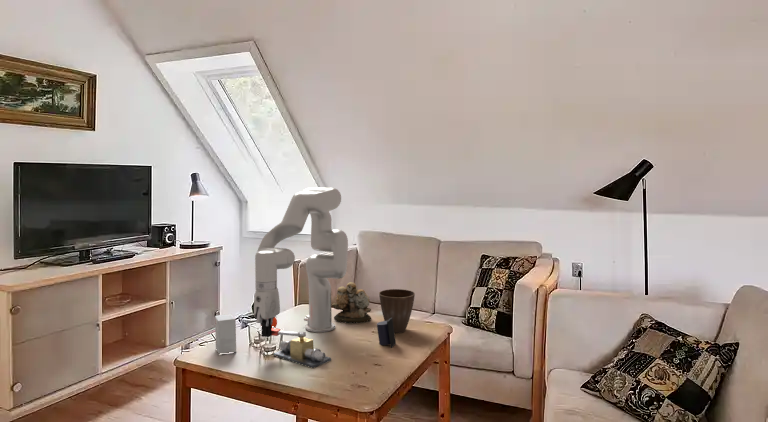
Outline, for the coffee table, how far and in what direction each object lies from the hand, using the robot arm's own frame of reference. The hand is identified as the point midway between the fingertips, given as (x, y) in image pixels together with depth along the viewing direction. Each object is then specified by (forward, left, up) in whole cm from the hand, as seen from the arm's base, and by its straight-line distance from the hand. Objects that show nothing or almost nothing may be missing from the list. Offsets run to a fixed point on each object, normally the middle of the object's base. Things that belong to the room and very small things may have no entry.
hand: (266, 336), depth 189 cm
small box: (-18, -5, -8) cm, 20 cm away
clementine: (-25, +22, -8) cm, 34 cm away
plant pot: (+18, +54, -8) cm, 58 cm away
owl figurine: (-8, +55, -8) cm, 57 cm away
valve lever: (+4, +5, 0) cm, 7 cm away
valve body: (+10, +7, -8) cm, 15 cm away
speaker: (+25, +37, -8) cm, 46 cm away
